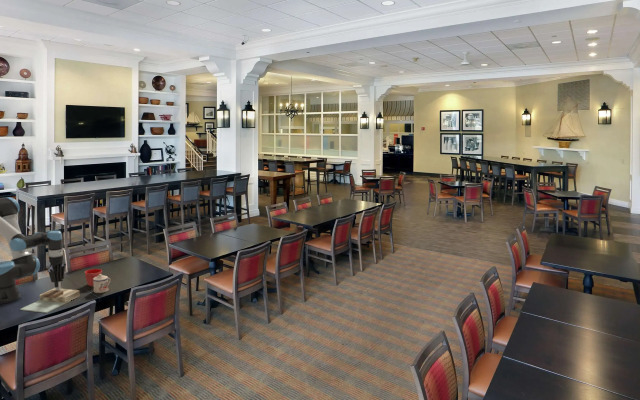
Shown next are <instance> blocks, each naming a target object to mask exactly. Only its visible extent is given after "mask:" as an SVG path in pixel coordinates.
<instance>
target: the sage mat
mask: <svg viewBox="0 0 640 400" xmlns="http://www.w3.org/2000/svg"><path fill="white" fill-rule="evenodd" d="M64 305H66V304H65V303H63V302H54V301H45V300H40V299H39V300H37V301H35V302H33V303H30V304H28V305H25V306H23V307H22V308H19V309H20V311H26V312H34V313H35V312H36V313H42V314H43V313H44V314H48V313H50V312H52V311H54V310H56V309H57V308H60V307H62V306H64Z"/></svg>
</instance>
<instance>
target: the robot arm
mask: <svg viewBox="0 0 640 400" xmlns="http://www.w3.org/2000/svg"><path fill="white" fill-rule="evenodd" d="M19 212H20V204H19V202H18V201H17V200H16V199H15V198H14V197H10V196H9V197H4V196H3V197H0V236H2V237H4V238H5V239H6V242H7V245H8V248H9V250H10V252H11V256H12V258H10V260H4V261H0V304H1V305H2V304H9V303H11V302H14V301H18V300H19V299H20V298H21V292H20V291H19V288H18V287H17V283H16V281H18V280H22V279H25V278H28V277H32V276H33V275H36V274H37V273H38V272H39V271H40V267H41V264H40V260H39V258H38V257H37V256H33V253H31V252H30V251H28V250H29V249H32V248H36V247H41V246H46V247H47V248H48V249H47V250H48V261H49V263H50V266H49V268H47V269H46V271H47V273H48V275H49V277H50V282H51V283H54V288H55V289H56V290H57V291H61V289H62V282H63V281H64V278H65V272H66V266H67V263H66V262H65V263H64V262H63V261H64V252H63V251H64V250H63V236H62V232H61V230H51V231H47V232H43V231H41V232H40V231H37V232H35V233H34V234H31V235H30V234H29V235H27V236H26V235H25V234H22V231H21V228H20V226H19V222H18V220H17V217H18V213H19Z"/></svg>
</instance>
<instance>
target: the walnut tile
mask: <svg viewBox="0 0 640 400" xmlns="http://www.w3.org/2000/svg"><path fill="white" fill-rule="evenodd" d="M50 290H51V289H50ZM48 291H49V290H48ZM46 292H47V291H46ZM43 293H44V294H43ZM43 293H42V294H43V297H46V298H57V297H59V296H61V295H63V291H57V290H51V291H49V292H47V293H45V292H43Z"/></svg>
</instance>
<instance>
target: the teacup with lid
mask: <svg viewBox="0 0 640 400" xmlns="http://www.w3.org/2000/svg"><path fill="white" fill-rule="evenodd" d="M93 283H94V286H93V293H96V294H103V293H106V292H108V291H109V285H110V283H111V278H110V277H108V276H107V275H103V273H102V274H99V276H97V277H95V278H93Z"/></svg>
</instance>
